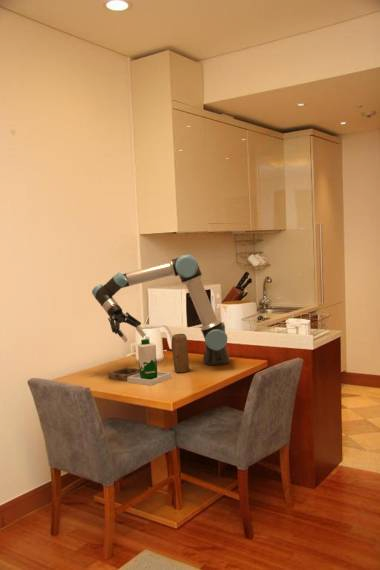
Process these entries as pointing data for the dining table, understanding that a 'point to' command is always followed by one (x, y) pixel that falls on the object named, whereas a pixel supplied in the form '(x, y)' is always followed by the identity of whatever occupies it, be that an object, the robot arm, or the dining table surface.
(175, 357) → the block
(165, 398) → the dining table surface
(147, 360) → the soya milk
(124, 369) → the dark brown square tray
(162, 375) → the tray
